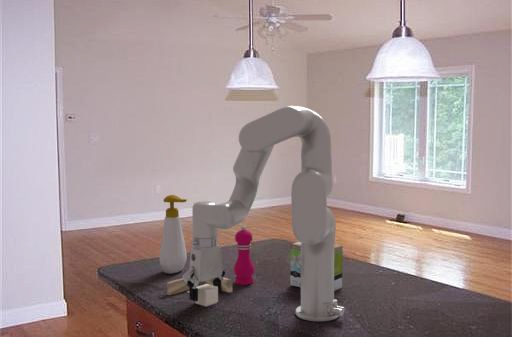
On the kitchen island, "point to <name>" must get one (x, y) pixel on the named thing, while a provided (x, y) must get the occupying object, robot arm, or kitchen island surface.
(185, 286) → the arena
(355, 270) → the kitchen island surface
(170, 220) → the soap bottle
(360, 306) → the kitchen island surface
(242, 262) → the pepper mill
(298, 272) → the tea box
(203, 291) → the cube
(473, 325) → the kitchen island surface
